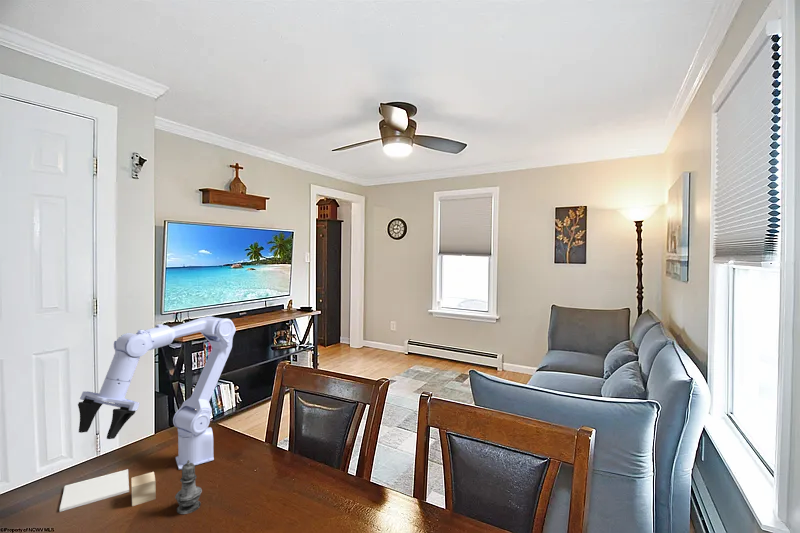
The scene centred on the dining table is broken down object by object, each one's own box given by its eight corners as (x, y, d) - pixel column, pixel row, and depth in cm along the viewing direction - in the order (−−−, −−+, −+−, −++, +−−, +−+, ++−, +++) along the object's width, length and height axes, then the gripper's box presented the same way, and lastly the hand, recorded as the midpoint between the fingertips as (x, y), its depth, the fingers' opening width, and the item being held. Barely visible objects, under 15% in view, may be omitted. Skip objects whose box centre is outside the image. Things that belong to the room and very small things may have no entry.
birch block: (154, 489, 105) (153, 471, 105) (155, 499, 101) (155, 480, 101) (131, 496, 102) (131, 477, 102) (132, 506, 98) (131, 487, 98)
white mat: (128, 471, 114) (128, 469, 114) (129, 491, 104) (129, 489, 104) (64, 487, 106) (64, 485, 106) (59, 511, 96) (59, 509, 96)
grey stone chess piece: (190, 516, 95) (190, 467, 94) (169, 513, 96) (169, 464, 95) (207, 501, 100) (206, 455, 100) (187, 498, 102) (186, 452, 101)
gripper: (80, 373, 99) (56, 430, 95) (133, 384, 97) (111, 443, 93) (101, 374, 105) (80, 428, 101) (151, 385, 104) (131, 439, 100)
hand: (96, 435), depth 98 cm, fingers open, 7 cm apart
